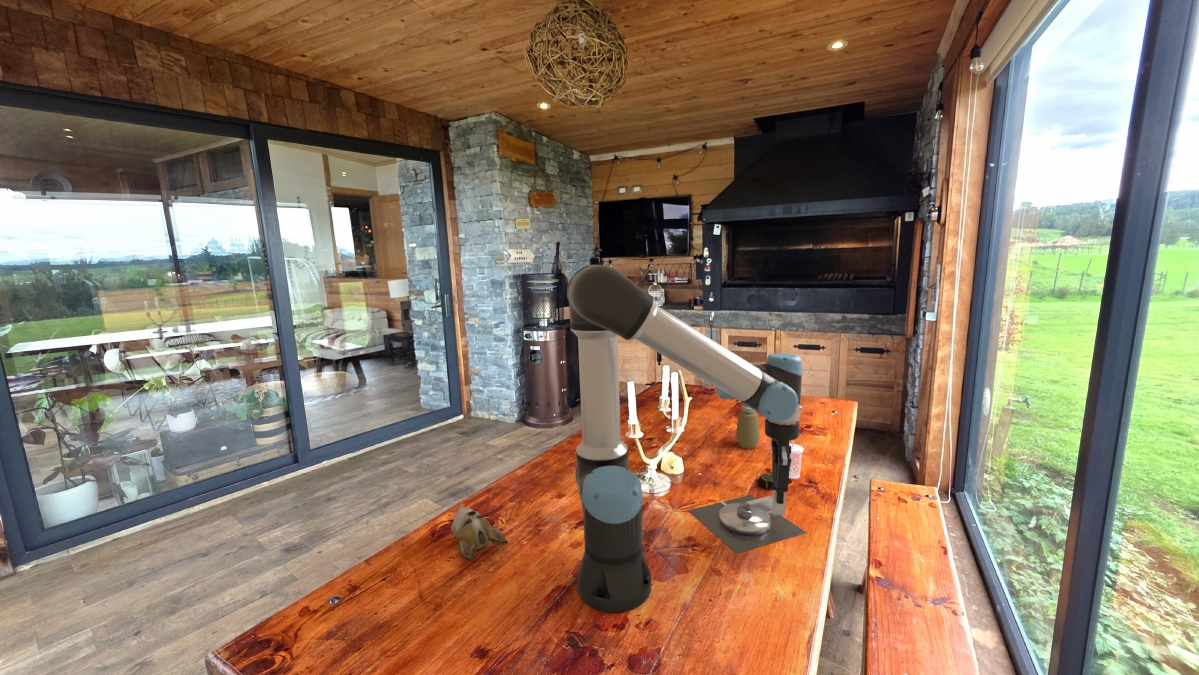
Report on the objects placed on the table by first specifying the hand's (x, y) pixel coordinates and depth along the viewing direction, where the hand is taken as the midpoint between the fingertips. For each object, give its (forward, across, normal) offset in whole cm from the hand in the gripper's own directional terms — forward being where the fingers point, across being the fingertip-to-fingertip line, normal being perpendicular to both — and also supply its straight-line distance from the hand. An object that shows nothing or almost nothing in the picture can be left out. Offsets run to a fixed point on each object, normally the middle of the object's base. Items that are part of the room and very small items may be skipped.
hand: (778, 513), depth 114 cm
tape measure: (+5, +22, -2) cm, 23 cm away
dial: (+3, +1, +6) cm, 7 cm away
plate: (+4, 0, +8) cm, 9 cm away
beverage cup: (+5, +32, -8) cm, 33 cm away
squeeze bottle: (+5, +53, +3) cm, 53 cm away
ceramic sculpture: (+5, -19, +70) cm, 73 cm away
